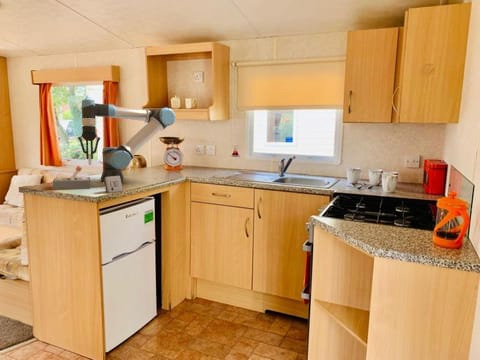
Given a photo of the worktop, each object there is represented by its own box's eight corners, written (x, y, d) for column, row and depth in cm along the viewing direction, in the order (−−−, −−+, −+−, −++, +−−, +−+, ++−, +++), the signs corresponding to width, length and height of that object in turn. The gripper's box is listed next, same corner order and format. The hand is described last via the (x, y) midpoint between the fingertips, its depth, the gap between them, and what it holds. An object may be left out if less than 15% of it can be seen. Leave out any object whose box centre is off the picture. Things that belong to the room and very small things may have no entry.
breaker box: (90, 185, 231) (89, 176, 230) (90, 188, 219) (90, 180, 218) (55, 186, 223) (54, 177, 222) (53, 189, 211) (52, 181, 210)
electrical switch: (108, 193, 206) (107, 177, 205) (103, 193, 209) (102, 177, 208) (122, 191, 213) (121, 175, 212) (117, 191, 216) (116, 175, 216)
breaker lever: (73, 181, 223) (81, 167, 224) (72, 182, 218) (81, 168, 219) (69, 179, 222) (77, 165, 223) (68, 180, 217) (77, 166, 218)
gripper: (76, 125, 214) (78, 165, 218) (100, 126, 219) (101, 165, 223) (77, 125, 221) (78, 163, 225) (100, 125, 226) (101, 163, 230)
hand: (89, 164), depth 224 cm, fingers closed
